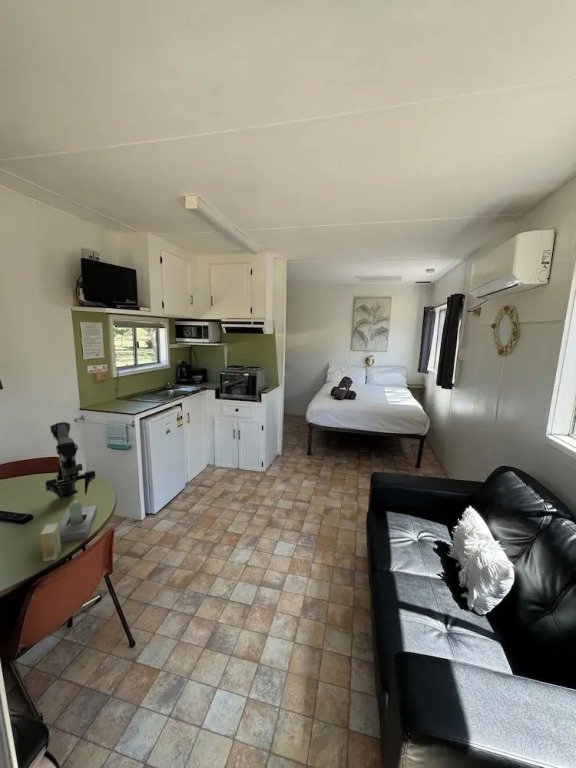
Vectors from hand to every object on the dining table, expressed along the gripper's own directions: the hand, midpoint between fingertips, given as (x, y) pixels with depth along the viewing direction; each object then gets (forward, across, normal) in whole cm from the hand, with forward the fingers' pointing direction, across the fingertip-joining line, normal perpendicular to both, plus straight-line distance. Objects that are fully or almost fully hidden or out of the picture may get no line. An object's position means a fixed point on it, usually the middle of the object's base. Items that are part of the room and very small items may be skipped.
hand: (73, 497), depth 138 cm
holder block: (+11, 0, +6) cm, 13 cm away
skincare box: (+22, -10, -4) cm, 24 cm away
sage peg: (+11, 0, +6) cm, 12 cm away
